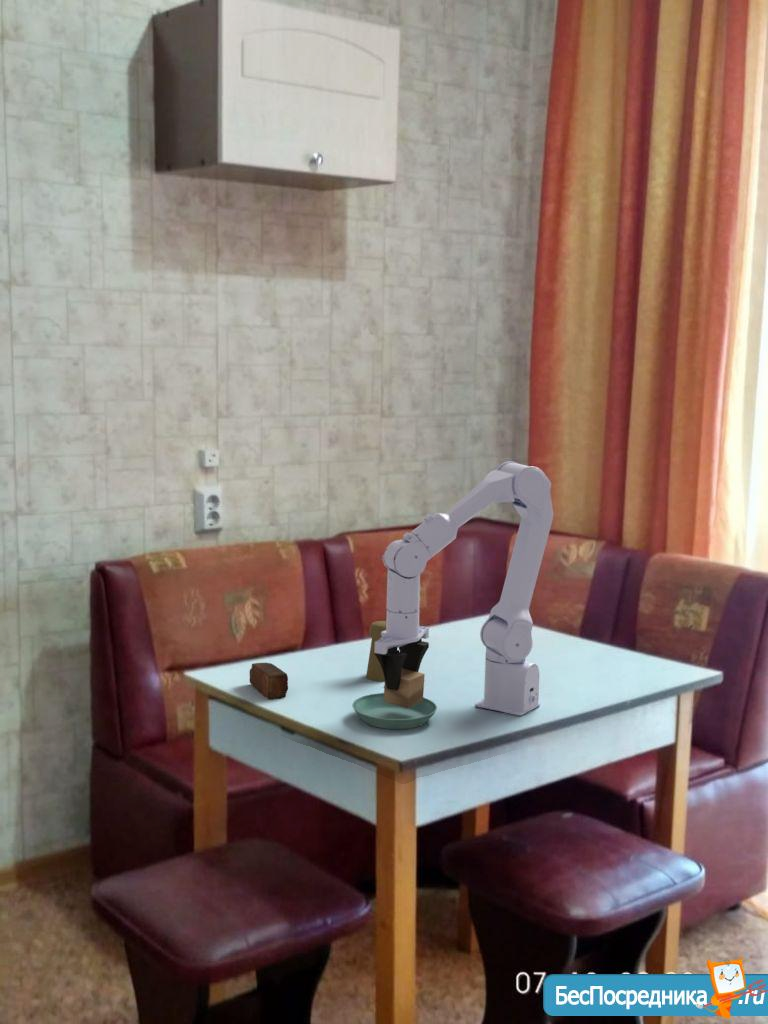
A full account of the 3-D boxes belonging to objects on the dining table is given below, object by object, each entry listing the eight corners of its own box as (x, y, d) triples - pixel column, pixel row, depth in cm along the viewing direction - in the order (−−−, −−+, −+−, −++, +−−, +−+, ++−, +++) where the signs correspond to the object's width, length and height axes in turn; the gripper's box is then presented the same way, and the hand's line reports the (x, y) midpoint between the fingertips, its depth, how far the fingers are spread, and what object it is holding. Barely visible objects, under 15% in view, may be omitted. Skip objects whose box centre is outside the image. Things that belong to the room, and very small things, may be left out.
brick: (288, 698, 217) (288, 673, 217) (268, 700, 216) (268, 675, 215) (268, 683, 227) (268, 659, 226) (248, 685, 225) (249, 661, 224)
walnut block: (422, 701, 208) (424, 673, 208) (407, 708, 204) (409, 680, 203) (399, 694, 211) (400, 667, 210) (383, 701, 207) (385, 674, 206)
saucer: (338, 726, 202) (338, 711, 202) (372, 702, 216) (372, 688, 216) (418, 739, 197) (419, 723, 197) (448, 713, 210) (448, 699, 210)
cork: (360, 678, 231) (361, 623, 229) (375, 670, 236) (376, 617, 234) (387, 682, 228) (389, 627, 226) (402, 675, 233) (403, 620, 232)
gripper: (405, 599, 214) (404, 672, 216) (360, 614, 202) (358, 691, 204) (439, 604, 210) (437, 679, 212) (395, 620, 198) (393, 698, 200)
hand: (401, 685), depth 208 cm, fingers closed on walnut block, 5 cm apart
